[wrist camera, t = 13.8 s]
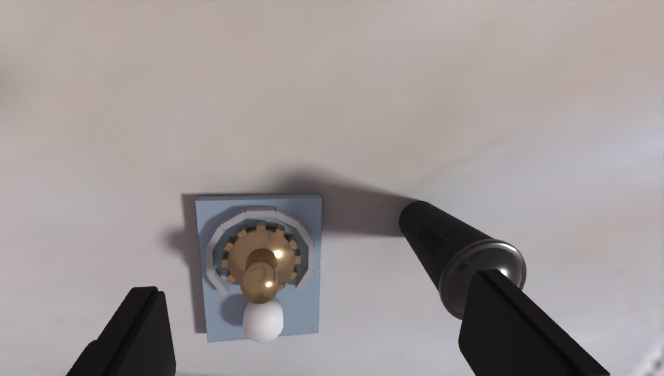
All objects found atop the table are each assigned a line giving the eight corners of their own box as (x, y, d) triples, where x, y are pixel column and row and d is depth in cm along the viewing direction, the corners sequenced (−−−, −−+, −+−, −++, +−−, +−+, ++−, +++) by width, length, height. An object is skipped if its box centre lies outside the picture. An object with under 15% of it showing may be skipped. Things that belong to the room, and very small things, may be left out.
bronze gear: (221, 221, 35) (210, 250, 29) (299, 219, 36) (305, 246, 30) (225, 289, 37) (216, 330, 31) (299, 285, 39) (304, 322, 32)
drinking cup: (391, 254, 41) (489, 398, 22) (383, 197, 39) (487, 305, 20) (449, 240, 42) (591, 368, 23) (445, 183, 40) (601, 274, 21)
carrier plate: (198, 196, 35) (189, 209, 31) (320, 194, 37) (325, 206, 34) (209, 333, 40) (203, 359, 37) (316, 324, 42) (320, 348, 39)
